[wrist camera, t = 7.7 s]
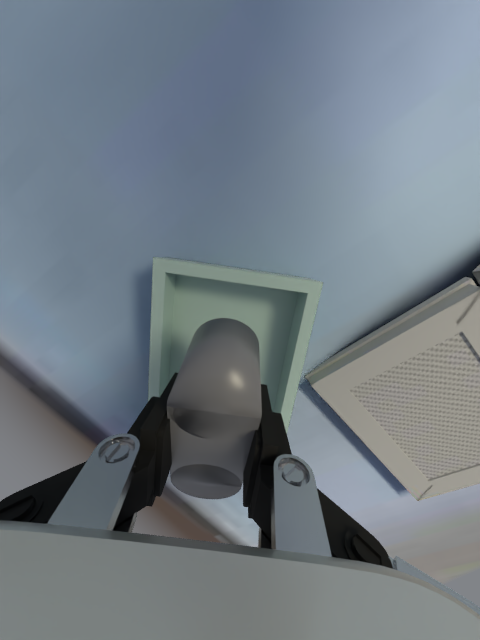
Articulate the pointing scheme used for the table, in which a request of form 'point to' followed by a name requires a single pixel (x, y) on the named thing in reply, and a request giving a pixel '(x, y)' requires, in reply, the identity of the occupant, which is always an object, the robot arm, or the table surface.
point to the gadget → (416, 391)
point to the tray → (235, 303)
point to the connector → (215, 409)
